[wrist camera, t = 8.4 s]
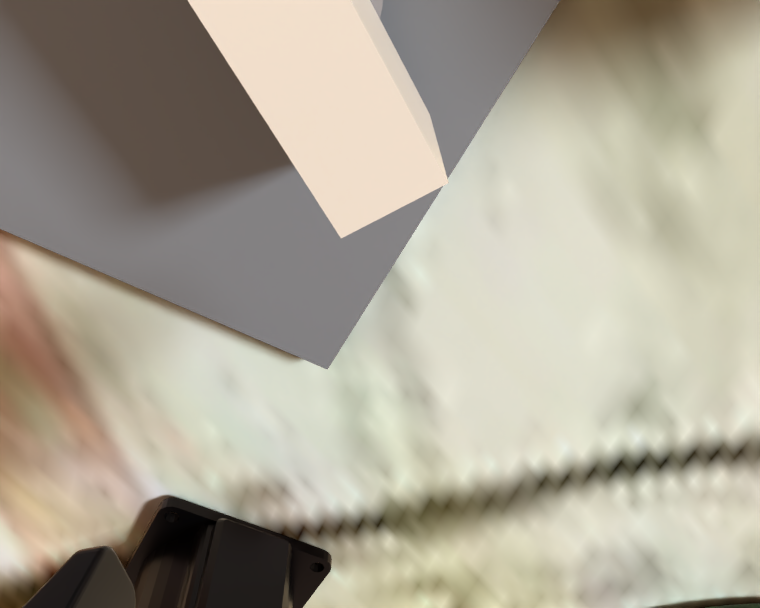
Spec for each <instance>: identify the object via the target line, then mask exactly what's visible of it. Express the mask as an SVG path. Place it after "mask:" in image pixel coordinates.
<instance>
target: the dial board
mask: <svg viewBox="0 0 760 608" xmlns="http://www.w3.org/2000/svg"><path fill="white" fill-rule="evenodd" d="M559 1H560V0H383V6H382V11H381V16H380V20H381V22H382V24H383V26H384V28H385V30H386V32H387V34H388V36H389V37H390V39H391V41H392V43H393V45H394V47H395V49H396V51H397V53H398V55H399V57H400V59H401V60H402V62H403V64H404V66H405V68H406V70H407V72H408V74H409V76H410V78H411V80H412V81H413V83H414V85H415V87H416V89H417V91H418V93H419V95H420V97H421V99H422V101H423V103H424V104H425V106H426V108H427V110H428V112H429V114H430V117H431V121H432V124H433V128H434V132H435V135H436V139H437V143H438V146H439V150H440V153H441V157H442V161H443V164H444V168H445V172H446V175H447V179H448V177H449V176H450V174H451V173H452V171H453V169H454V168H455V166H456V165H457V163H458V162H459V160H460V158H461V157H462V155H463V154H464V152H465V150H466V149H467V147H468V146H469V144H470V142H471V141H472V139H473V138H474V136H475V135H476V133H477V131H478V130H479V128H480V127H481V125H482V123H483V122H484V120H485V119H486V117H487V116H488V114H489V112H490V111H491V109H492V108H493V106H494V104H495V103H496V101H497V100H498V98H499V97H500V95H501V93H502V92H503V90H504V89H505V87H506V85H507V84H508V82H509V81H510V79H511V77H512V76H513V74H514V73H515V71H516V70H517V68H518V66H519V65H520V63H521V62H522V60H523V58H524V57H525V55H526V54H527V52H528V51H529V49H530V47H531V46H532V44H533V43H534V41H535V39H536V38H537V36H538V35H539V33H540V31H541V30H542V28H543V27H544V25H545V24H546V22H547V20H548V19H549V17H550V16H551V14H552V12H553V11H554V9H555V8H556V6H557V5H558V3H559ZM442 187H443V186H442ZM442 187H440V188H438V189H436V190H434V191H432V192H430V193H428V194H426V195H424V196H423V197H421V198H419V199H417V200H415V201H413V202H411V203H409V204H407V205H405V206H403V207H401V208H399V209H397V210H395V211H394V212H392V213H390V214H388V215H386V216H384V217H382V218H380V219H378V220H376V221H374V222H372V223H370V224H368V225H366V226H365V227H363V228H361V229H359V230H357V231H355V232H353V233H351V234H349V235H347V236H345V237H343V238H340V236H339V235H338V233H337V231H336V230H335V228H334V227H333V225H332V224H331V222H330V221H329V219H328V217H327V216H326V214H325V213H324V211H323V210H322V208H321V207H320V205H319V203H318V202H317V200H316V199H315V197H314V196H313V194H312V193H311V191H310V190H309V188H308V186H307V185H306V183H305V182H304V180H303V179H302V177H301V176H300V174H299V172H298V171H297V169H296V168H295V166H294V165H293V163H292V162H291V160H290V159H289V157H288V155H287V154H286V152H285V151H284V149H283V148H282V146H281V145H280V143H279V141H278V140H277V138H276V137H275V135H274V134H273V132H272V131H271V129H270V128H269V126H268V124H267V123H266V121H265V120H264V118H263V117H262V115H261V114H260V112H259V110H258V109H257V107H256V106H255V104H254V103H253V101H252V100H251V98H250V96H249V95H248V93H247V92H246V90H245V89H244V87H243V86H242V84H241V83H240V81H239V79H238V78H237V76H236V75H235V73H234V72H233V70H232V69H231V67H230V65H229V64H228V62H227V61H226V59H225V58H224V56H223V55H222V53H221V52H220V50H219V48H218V47H217V45H216V44H215V42H214V41H213V39H212V38H211V36H210V34H209V33H208V31H207V30H206V28H205V27H204V25H203V24H202V22H201V21H200V19H199V17H198V16H197V14H196V13H195V11H194V10H193V8H192V7H191V5H190V3H189V2H188V0H0V229H1V230H4V231H6V232H8V233H11V234H13V235H15V236H18V237H20V238H22V239H25V240H27V241H29V242H32V243H34V244H36V245H39V246H41V247H43V248H46V249H48V250H50V251H53V252H55V253H57V254H60V255H62V256H64V257H67V258H69V259H71V260H74V261H76V262H78V263H81V264H83V265H85V266H88V267H90V268H92V269H95V270H97V271H99V272H102V273H104V274H106V275H109V276H111V277H113V278H116V279H118V280H120V281H123V282H125V283H127V284H129V285H132V286H134V287H136V288H139V289H141V290H143V291H146V292H148V293H150V294H153V295H155V296H157V297H160V298H162V299H164V300H167V301H169V302H171V303H174V304H176V305H178V306H181V307H183V308H185V309H188V310H190V311H192V312H195V313H197V314H199V315H202V316H204V317H206V318H209V319H211V320H213V321H216V322H218V323H220V324H223V325H225V326H227V327H230V328H232V329H234V330H237V331H239V332H241V333H244V334H246V335H248V336H251V337H253V338H255V339H258V340H260V341H262V342H265V343H267V344H269V345H272V346H274V347H276V348H279V349H281V350H283V351H286V352H288V353H290V354H293V355H295V356H297V357H300V358H302V359H304V360H307V361H309V362H311V363H314V364H316V365H318V366H321V367H323V368H325V369H328V368H329V366H330V365H331V363H332V361H333V360H334V358H335V357H336V355H337V353H338V352H339V350H340V349H341V347H342V345H343V344H344V342H345V341H346V339H347V338H348V336H349V334H350V333H351V331H352V330H353V328H354V326H355V325H356V323H357V322H358V320H359V319H360V317H361V315H362V314H363V312H364V311H365V309H366V307H367V306H368V304H369V303H370V301H371V299H372V298H373V296H374V295H375V293H376V292H377V290H378V288H379V287H380V285H381V284H382V282H383V280H384V279H385V277H386V276H387V274H388V273H389V271H390V269H391V268H392V266H393V265H394V263H395V261H396V260H397V258H398V257H399V255H400V254H401V252H402V250H403V249H404V247H405V246H406V244H407V242H408V241H409V239H410V238H411V236H412V234H413V233H414V231H415V230H416V228H417V227H418V225H419V223H420V222H421V220H422V219H423V217H424V215H425V214H426V212H427V211H428V209H429V208H430V206H431V204H432V203H433V201H434V200H435V198H436V196H437V195H438V193H439V192H440V190H441V188H442Z"/></svg>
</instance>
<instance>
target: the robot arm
mask: <svg viewBox="0 0 760 608" xmlns="http://www.w3.org/2000/svg"><path fill="white" fill-rule="evenodd" d="M171 512H175V513H171ZM331 560H332V559H331V555H330V554H329V553H328V552H327V551H325V550H322V549H320V548H317V547H314V546H311V545H308V544H305V543H303V542H300V541H297V540H294V539H291V538H289V537H286V536H283V535H280V534H277V533H275V532H272V531H269V530H266V529H263V528H260V527H258V526H255V525H252V524H249V523H246V522H244V521H241V520H238V519H235V518H232V517H230V516H227V515H224V514H221V513H218V512H216V511H213V510H210V509H207V508H204V507H201V506H199V505H196V504H193V503H190V502H187V501H185V500H182V499H178V498H168V499H165V500H163V501H162V503H161V504H160V506H159V507H158V509H157V511H156V513H155V515H154V516H153V518H152V520H151V522H150V524H149V525H148V527H147V529H146V531H145V533H144V535H143V536H142V538H141V540H140V542H139V544H138V545H137V547H136V549H135V551H134V553H133V554H132V556H131V558H130V560H129V562H128V563H127V565H126V567H125V569H124V567H123V566H122V564H121V562H120V560H119V558H118V556H117V554H116V553H115V551H114V550H113V549H112V548H111V547H109V546H99V547H93V548H87V549H82V550H79V551H78V552H76V553H75V554H74V555H73V556H71V558H70V559H69V560H68V561H67V562H66V563H65V564H64V565H63V566H62V567H61V568H60V569H59V570H58V571H57V572H56V573H55V574H54V575H53V576H52V577H51V578H50V579H49V580H48V581H47V582H46V583H45V584H44V585H43V586H42V587H41V589H40V590H39V591H38V592H37V593H36V594H35V595H34V596H33V597H32V598H31V599H30V600H29V601H28V602H27V603H26V604H25V605H24V606H23V607H22V608H302V607H303V606H304V605H305V604H306V602H307V601H308V600H309V598H310V597H311V596H312V594H313V593H314V592H315V590H316V589H317V588H318V586H319V585H320V584H321V583H322V581H323V580H324V579H325V577H326V576H327V575H328V573H329V572H330V570H331Z"/></svg>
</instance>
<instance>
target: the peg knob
mask: <svg viewBox="0 0 760 608" xmlns="http://www.w3.org/2000/svg"><path fill="white" fill-rule="evenodd" d="M188 2H189V3H190V5H191V7H192V8H193V10H194V11H195V13H196V14H197V16H198V17H199V19H200V21H201V22H202V24H203V25H204V27H205V28H206V30H207V31H208V33H209V34H210V36H211V38H212V39H213V41H214V42H215V44H216V45H217V47H218V48H219V50H220V52H221V53H222V55H223V56H224V58H225V59H226V61H227V62H228V64H229V65H230V67H231V69H232V70H233V72H234V73H235V75H236V76H237V78H238V79H239V81H240V83H241V84H242V86H243V87H244V89H245V90H246V92H247V93H248V95H249V96H250V98H251V100H252V101H253V103H254V104H255V106H256V107H257V109H258V110H259V112H260V114H261V115H262V117H263V118H264V120H265V121H266V123H267V124H268V126H269V128H270V129H271V131H272V132H273V134H274V135H275V137H276V138H277V140H278V141H279V143H280V145H281V146H282V148H283V149H284V151H285V152H286V154H287V155H288V157H289V159H290V160H291V162H292V163H293V165H294V166H295V168H296V169H297V171H298V172H299V174H300V176H301V177H302V179H303V180H304V182H305V183H306V185H307V186H308V188H309V190H310V191H311V193H312V194H313V196H314V197H315V199H316V200H317V202H318V203H319V205H320V207H321V208H322V210H323V211H324V213H325V214H326V216H327V217H328V219H329V221H330V222H331V224H332V225H333V227H334V228H335V230H336V231H337V233H338V235H339V236H340V238H343V237H345V236H347V235H349V234H351V233H353V232H355V231H357V230H359V229H361V228H363V227H365V226H366V225H368V224H370V223H372V222H374V221H376V220H378V219H380V218H382V217H384V216H386V215H388V214H390V213H392V212H394V211H395V210H397V209H399V208H401V207H403V206H405V205H407V204H409V203H411V202H413V201H415V200H417V199H419V198H421V197H423V196H424V195H426V194H428V193H430V192H432V191H434V190H436V189H438V188H440V187H442V186H444V185H446V184H448V183H449V182H448V179H447V175H446V172H445V168H444V164H443V161H442V157H441V153H440V150H439V146H438V143H437V139H436V135H435V132H434V128H433V124H432V121H431V117H430V114H429V112H428V110H427V108H426V106H425V104H424V103H423V101H422V99H421V97H420V95H419V93H418V91H417V89H416V87H415V85H414V83H413V81H412V80H411V78H410V76H409V74H408V72H407V70H406V68H405V66H404V64H403V62H402V60H401V59H400V57H399V55H398V53H397V51H396V49H395V47H394V45H393V43H392V41H391V39H390V37H389V36H388V34H387V32H386V30H385V28H384V26H383V24H382V22H381V20H380V16H381V11H382V6H383V0H188Z"/></svg>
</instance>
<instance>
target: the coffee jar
mask: <svg viewBox="0 0 760 608" xmlns="http://www.w3.org/2000/svg"><path fill="white" fill-rule="evenodd" d="M707 608H760V603H754V604H738V605H724V606H719V607H707Z"/></svg>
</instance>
